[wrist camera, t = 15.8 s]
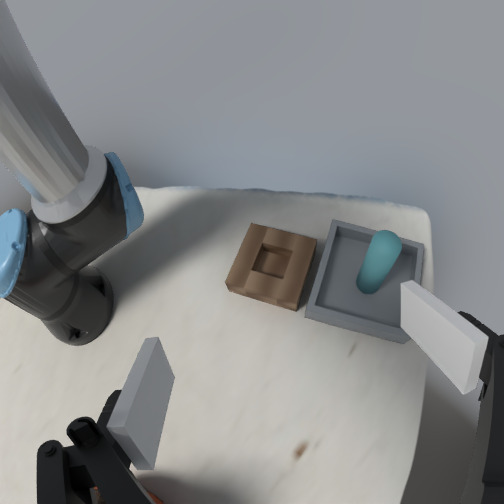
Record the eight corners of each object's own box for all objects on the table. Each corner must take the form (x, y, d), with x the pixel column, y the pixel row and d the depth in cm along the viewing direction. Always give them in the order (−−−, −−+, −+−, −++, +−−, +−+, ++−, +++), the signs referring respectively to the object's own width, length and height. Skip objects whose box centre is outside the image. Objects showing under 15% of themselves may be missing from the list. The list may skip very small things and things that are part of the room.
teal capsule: (353, 290, 46) (369, 253, 36) (358, 268, 48) (374, 226, 37) (377, 297, 45) (400, 261, 35) (382, 274, 47) (403, 234, 36)
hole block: (229, 291, 49) (225, 282, 46) (253, 234, 54) (251, 222, 51) (296, 311, 46) (296, 303, 43) (315, 250, 51) (317, 239, 48)
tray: (304, 317, 46) (305, 309, 43) (330, 231, 53) (332, 219, 50) (403, 343, 42) (411, 338, 39) (417, 254, 48) (423, 244, 45)
